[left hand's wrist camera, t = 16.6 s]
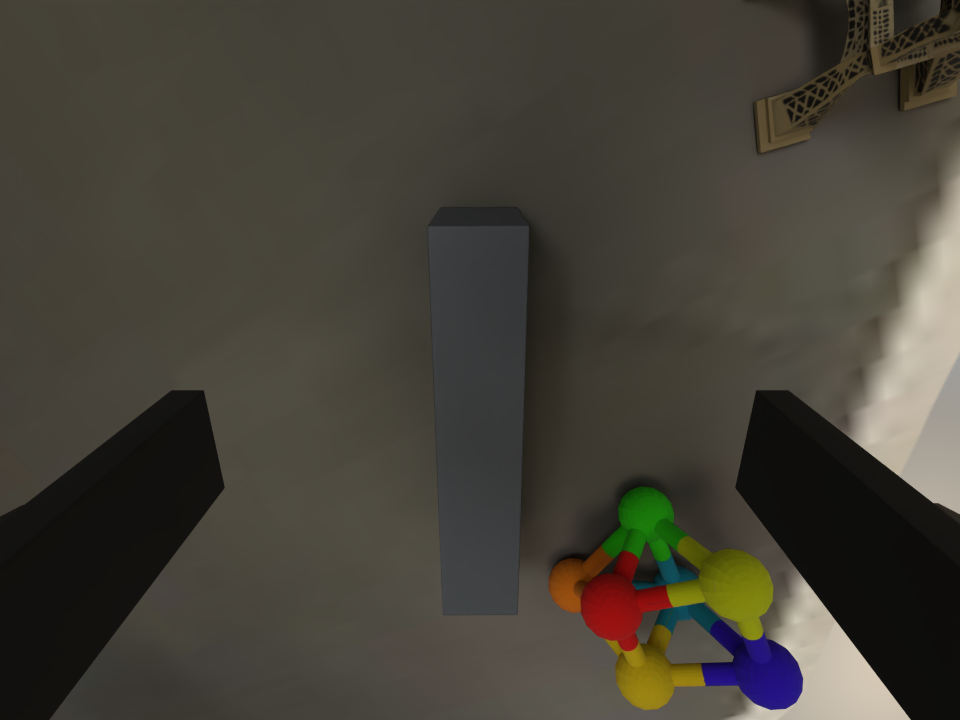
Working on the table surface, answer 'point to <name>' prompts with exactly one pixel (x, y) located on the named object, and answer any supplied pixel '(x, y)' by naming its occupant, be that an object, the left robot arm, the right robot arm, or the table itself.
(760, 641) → the molecular model
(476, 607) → the bar
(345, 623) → the table surface
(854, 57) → the eiffel tower
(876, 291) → the table surface
